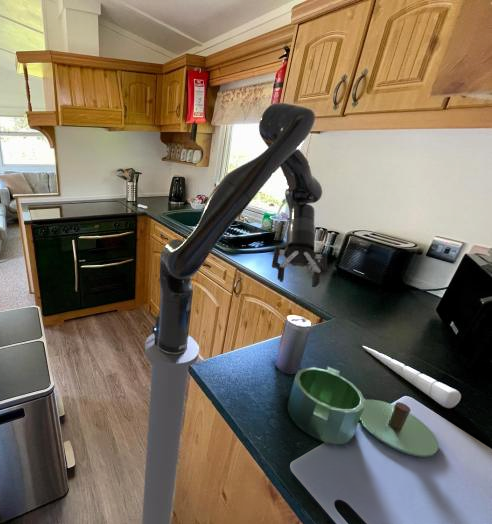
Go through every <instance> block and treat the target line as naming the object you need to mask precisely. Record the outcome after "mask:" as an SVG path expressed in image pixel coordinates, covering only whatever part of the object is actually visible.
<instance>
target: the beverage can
mask: <svg viewBox="0 0 492 524" xmlns="http://www.w3.org/2000/svg"><path fill="white" fill-rule="evenodd" d="M311 324H312V323H311V320H309V319H307V318H305V317H303V316H301V315H296V314H290V315H288V316H287V317H286V319H285V321H284V324H283V328H282V332H281V337H280V341H279V346H278V349H277V352H276V353H277V354H276V358H275V361H274V363H275V366H276V367H277V369H278V370H279V371H280V372H282V373H284V374H287V375H296V374H297V372H298V371H299V370H301V369H300V368H301V365H302V362H303V356H304V355H305V350H306V346H307V343H308V339H309V336H310V332H311V328H312V327H311Z"/></svg>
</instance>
